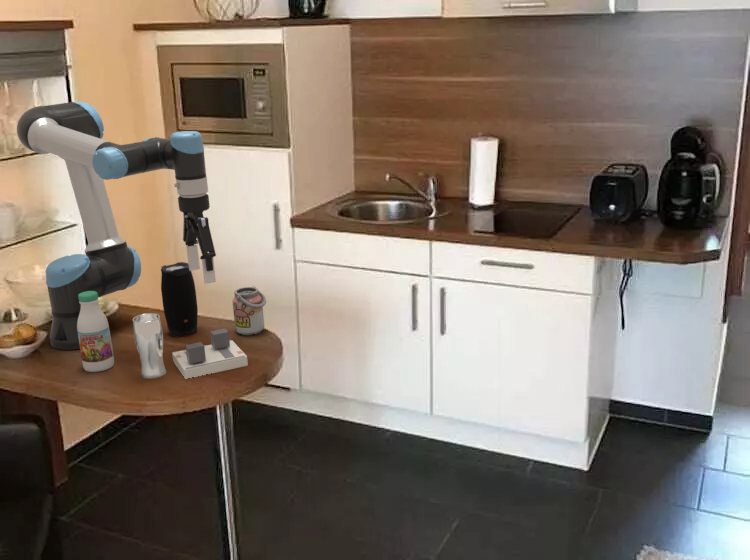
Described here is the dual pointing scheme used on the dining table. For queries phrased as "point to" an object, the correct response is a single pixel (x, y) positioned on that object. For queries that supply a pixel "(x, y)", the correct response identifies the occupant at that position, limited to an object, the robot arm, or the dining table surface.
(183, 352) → the switch panel
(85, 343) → the milk bottle
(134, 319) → the beer glass
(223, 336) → the tab
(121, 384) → the dining table surface
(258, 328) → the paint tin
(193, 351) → the tab
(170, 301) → the portable speaker
